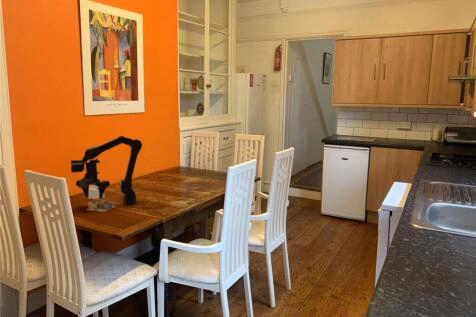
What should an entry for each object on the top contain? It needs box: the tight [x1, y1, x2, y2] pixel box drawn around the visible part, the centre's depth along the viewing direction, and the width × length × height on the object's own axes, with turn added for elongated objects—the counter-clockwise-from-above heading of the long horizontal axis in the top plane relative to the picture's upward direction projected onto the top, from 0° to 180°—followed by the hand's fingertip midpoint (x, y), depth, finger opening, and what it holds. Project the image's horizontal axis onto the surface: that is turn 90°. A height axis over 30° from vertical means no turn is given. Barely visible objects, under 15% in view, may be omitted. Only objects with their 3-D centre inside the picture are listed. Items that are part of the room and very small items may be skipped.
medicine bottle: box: [88, 180, 106, 200], centre depth 229 cm, size 7×7×12 cm
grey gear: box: [100, 200, 114, 210], centre depth 206 cm, size 6×6×3 cm
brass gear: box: [87, 200, 101, 211], centre depth 206 cm, size 6×6×3 cm
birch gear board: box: [86, 200, 116, 212], centre depth 205 cm, size 12×10×5 cm
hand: (93, 198), depth 205 cm, fingers open, 9 cm apart
